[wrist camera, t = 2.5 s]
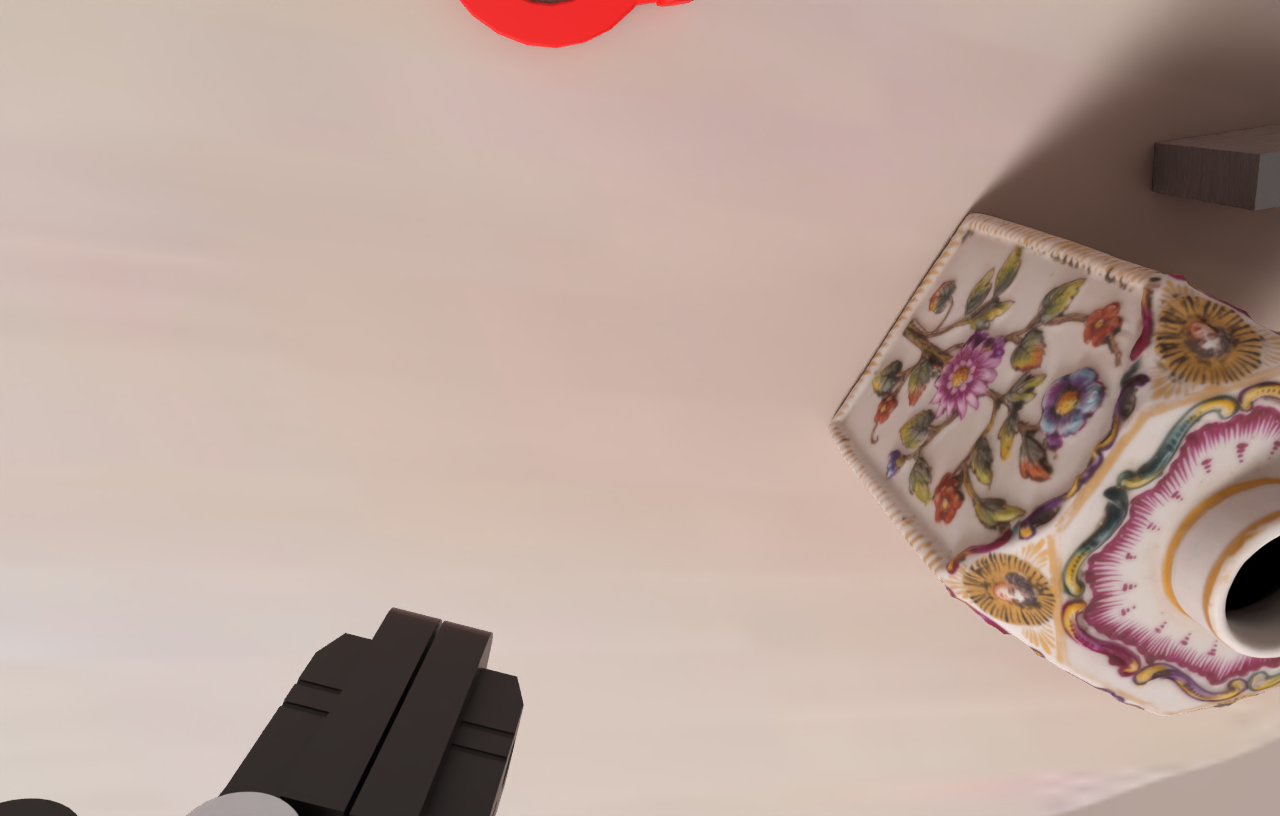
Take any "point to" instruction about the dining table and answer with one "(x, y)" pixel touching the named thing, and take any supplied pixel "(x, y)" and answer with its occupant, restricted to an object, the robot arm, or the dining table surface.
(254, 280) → the dining table surface
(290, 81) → the dining table surface
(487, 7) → the tow hook
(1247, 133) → the grey tray
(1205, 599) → the decorative jar
